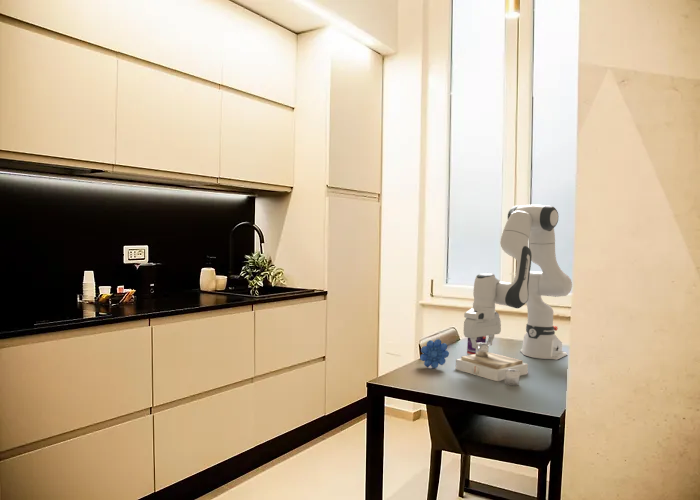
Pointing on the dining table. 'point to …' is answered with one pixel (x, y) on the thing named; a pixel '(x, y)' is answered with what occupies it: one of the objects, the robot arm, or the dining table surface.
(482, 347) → the block
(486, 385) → the dining table surface
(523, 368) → the base
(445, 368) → the dining table surface
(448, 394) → the dining table surface
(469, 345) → the pill bottle
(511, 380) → the block
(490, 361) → the pan
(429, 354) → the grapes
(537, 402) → the dining table surface
